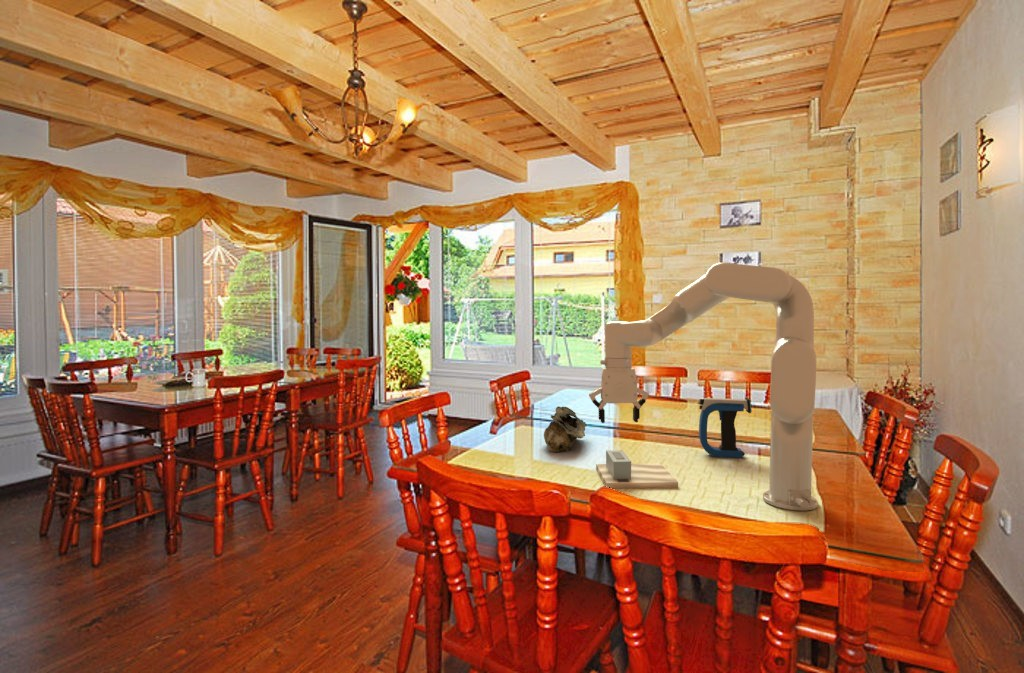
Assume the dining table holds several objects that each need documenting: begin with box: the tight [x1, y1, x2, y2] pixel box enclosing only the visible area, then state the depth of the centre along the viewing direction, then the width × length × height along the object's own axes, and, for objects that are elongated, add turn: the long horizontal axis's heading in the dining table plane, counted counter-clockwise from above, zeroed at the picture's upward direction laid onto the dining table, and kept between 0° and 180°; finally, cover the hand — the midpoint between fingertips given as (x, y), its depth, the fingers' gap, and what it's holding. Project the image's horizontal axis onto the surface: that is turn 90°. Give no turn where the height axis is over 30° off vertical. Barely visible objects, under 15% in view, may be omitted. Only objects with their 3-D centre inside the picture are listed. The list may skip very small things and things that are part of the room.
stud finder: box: [605, 449, 632, 479], centre depth 161 cm, size 12×5×5 cm, turn 0°
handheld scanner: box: [698, 397, 753, 459], centre depth 182 cm, size 5×16×20 cm, turn 78°
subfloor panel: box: [595, 462, 679, 489], centre depth 161 cm, size 18×20×2 cm
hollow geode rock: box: [543, 406, 588, 453], centre depth 200 cm, size 28×13×15 cm
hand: (619, 421), depth 160 cm, fingers open, 9 cm apart
